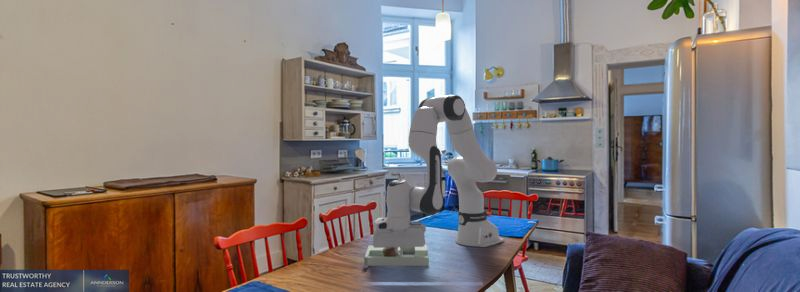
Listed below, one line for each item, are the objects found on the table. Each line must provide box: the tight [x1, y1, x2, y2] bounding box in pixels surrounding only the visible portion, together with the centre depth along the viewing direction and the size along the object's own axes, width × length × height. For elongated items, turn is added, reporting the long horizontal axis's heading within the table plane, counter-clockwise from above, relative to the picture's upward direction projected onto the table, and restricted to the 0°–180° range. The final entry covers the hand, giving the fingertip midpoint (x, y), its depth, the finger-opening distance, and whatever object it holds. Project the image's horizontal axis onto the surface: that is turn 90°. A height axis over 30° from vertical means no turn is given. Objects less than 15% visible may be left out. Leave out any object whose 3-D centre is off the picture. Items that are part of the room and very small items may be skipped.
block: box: [383, 247, 397, 257], centre depth 148 cm, size 4×4×4 cm
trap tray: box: [363, 244, 430, 269], centre depth 152 cm, size 24×17×4 cm
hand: (399, 258), depth 148 cm, fingers closed, pressing on block
